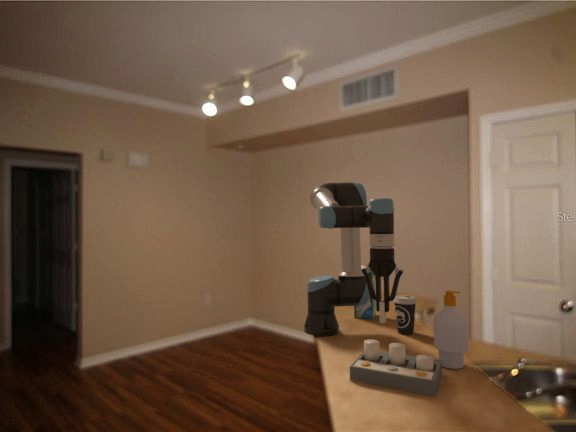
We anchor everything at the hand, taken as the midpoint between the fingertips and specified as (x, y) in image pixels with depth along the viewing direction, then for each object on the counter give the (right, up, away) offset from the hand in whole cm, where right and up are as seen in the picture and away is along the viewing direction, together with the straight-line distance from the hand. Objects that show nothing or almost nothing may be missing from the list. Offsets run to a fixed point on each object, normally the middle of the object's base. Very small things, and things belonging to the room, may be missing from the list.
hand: (383, 321), depth 117 cm
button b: (+4, -13, -3) cm, 13 cm away
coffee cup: (+20, -16, +40) cm, 47 cm away
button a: (-3, -13, +1) cm, 13 cm away
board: (+3, -16, -4) cm, 16 cm away
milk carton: (+8, -17, +67) cm, 70 cm away
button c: (+11, -15, -7) cm, 20 cm away
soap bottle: (+23, -16, +4) cm, 28 cm away
